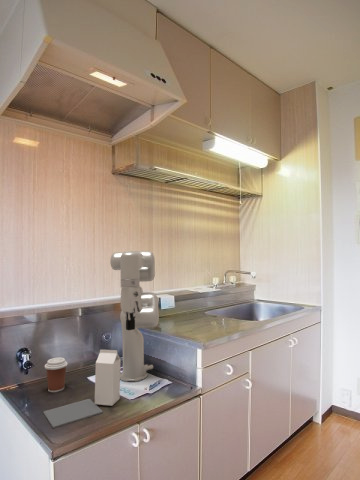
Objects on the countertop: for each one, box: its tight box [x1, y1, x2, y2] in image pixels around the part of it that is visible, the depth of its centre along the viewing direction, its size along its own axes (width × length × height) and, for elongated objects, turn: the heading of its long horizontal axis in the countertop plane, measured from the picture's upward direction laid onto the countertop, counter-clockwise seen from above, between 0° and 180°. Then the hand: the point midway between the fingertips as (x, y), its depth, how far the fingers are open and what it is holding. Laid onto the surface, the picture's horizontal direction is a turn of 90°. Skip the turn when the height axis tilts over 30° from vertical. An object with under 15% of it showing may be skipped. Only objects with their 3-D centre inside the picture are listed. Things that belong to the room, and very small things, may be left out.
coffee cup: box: [44, 357, 69, 393], centre depth 137 cm, size 9×9×12 cm
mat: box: [42, 398, 104, 429], centre depth 116 cm, size 17×13×1 cm
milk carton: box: [94, 349, 121, 406], centre depth 125 cm, size 7×7×19 cm
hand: (130, 329), depth 130 cm, fingers closed
